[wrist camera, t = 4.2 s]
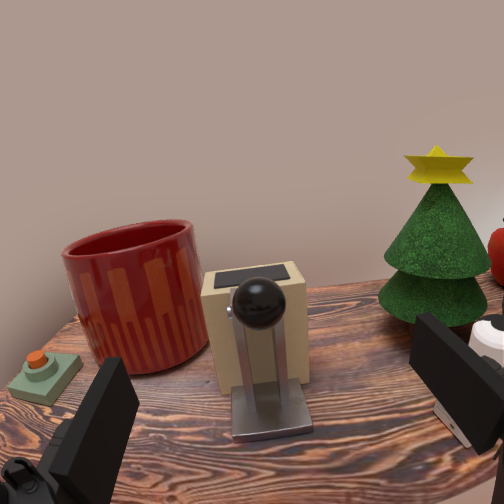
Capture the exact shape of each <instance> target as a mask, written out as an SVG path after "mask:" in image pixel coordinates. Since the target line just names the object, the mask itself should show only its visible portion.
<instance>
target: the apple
mask: <svg viewBox="0 0 504 504" xmlns="http://www.w3.org/2000/svg"><path fill="white" fill-rule="evenodd" d="M488 255H489V258H490V260H491V263H492V264H491V267H490V268H491V272H492V275H493V276H494V278H495V279H496V280H497V282H498V283H499V284H500V285H501V286H504V228H499V229H497V230H496V231H495V232H493V233H492V235H491V238H490V240H489V243H488Z"/></svg>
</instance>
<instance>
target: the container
mask: <svg viewBox="0 0 504 504" xmlns="http://www.w3.org/2000/svg"><path fill="white" fill-rule="evenodd" d="M468 346H469V347H470V348H472V349H473V350H474V351H475V352H476V353H477V354H478V355H479V356H480V357H481V356H484V355H486V356H488V357H490V358H492V359H494V360H496V361H497V362H498V363H499V364H500V365H501V366H502V368H504V315H500V314H491V315H486V316H483V317H481V318H479V319H478V320H477V321H476V322H475V323H474V325H473V328H472V332H471V337H470V341H469V345H468ZM433 412H434V413H435V414H436V415H437V416H438V417H439V418H440V419H441V421H442V422H443V423H444V424H445V425H446V426H447V427H448V428H449V429H450V431H451V432H452V433H453V434H454V435H455V436H456V437H457V438H458V439H459V440H460V442H461V443H462V444H463V445H464V446H465V447H466V448H469V447H470V446H472V445H471V444H470V442H469V441H468V440H467V438H466V437H465V436H464V434H463V433H462V432H461V430H460V429H459V427H458V426H457V425H456V423H455V422H454V421H453V419H452V418H451V417H450V415H449V414H448V413H447V411H446V410H445V409H444V408H443V406H442V405H441V404H440V402H439V401H438V400H436V403H435V406H434V409H433Z"/></svg>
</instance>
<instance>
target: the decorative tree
mask: <svg viewBox="0 0 504 504" xmlns="http://www.w3.org/2000/svg"><path fill="white" fill-rule="evenodd" d="M405 157H406V158H407V159H408V160H409V161H410V162H411V163H412V164H413V165H414V166H415V168H416V169H415V170H414V171H413V172H412V173H411V174H410V175H409V176H408V178H407V179H410V180H413V181H416V182H418V183H430V184H431V186H430V188H429V190H428V191H427V192H426V194H425V195H424V197H423V199H422V200H421V202H420V203H419V205H418V206H417V208H416V209H415V211H414V212H413V214H412V215H411V217H410V218H409V220H408V221H407V223H406V224H405V226H404V227H403V229H402V230H401V231H400V233H399V234H398V236H397V237H396V238H395V240H394V241H393V243H392V244H391V246H390V247H389V248H388V250H387V251H386V252H385V254H384V258H385V260H386V262H387V263H388V264H389V265H391V266H392V267H394V268H396V269H398V271H397V272H396V273H395V274H394V275H393V277H392V278H391V279H390V280H389V281H388V282H387V283H386V284H385V286H384V287H383V288H382V289H381V290H380V292H379V295H378V299H379V302H380V304H381V306H382V307H383V308H384V309H385V310H386V311H387V312H388V313H390V314H391V315H393V316H395V317H397V318H399V319H401V320H404V321H407V322H410V326H409V331H410V333H411V334H412V335H413V334H414V327H415V319H416V315H418V314H422V313H426V312H430V313H432V314H433V315H434V316H435V317H436V318H437V319H439V320H440V321H441V322H442V323H443V324H444V325H446V326H447V327H448V328H449V327H454V326H460V325H464V324H468V323H470V322H473V321H475V320H477V319H478V318H480V317H481V316H482V315H483V314H484V313H485V311H486V309H487V299H486V297H485V295H484V293H483V292H482V290H481V288H480V286H479V284H478V282H477V281H476V279H475V277H474V276H477V275H480V274H483V273H485V272H486V271H488V270H489V269H490V267H491V264H492V263H491V260H490V258H489V255H488V253H487V251H486V250H485V248H484V246H483V244H482V242H481V240H480V238H479V236H478V234H477V233H476V230H475V229H474V227H473V225H472V223H471V221H470V219H469V218H468V216H467V214H466V213H465V211H464V209H463V207H462V206H461V204H460V202H459V201H458V199H457V197H456V196H455V195H454V193H453V191H452V190H451V188H450V186H449V185H448V183H468V184H469V183H470V184H472V182H471V181H470V180H469V179H468V177H467V176H466V175H465V174H464V173H463V172H462V171H461V170H462V169H463V168H464V167H465V166H466V165H467V164H468V163H469V162H470V161H471V160H472V159H473V158H470V157H456V156H447V155H446V154H445V153H444V152H443V151H442V150H441V149H440V148H439V147H438V146H437V145H436V146H435V147H434V148H433V149H432V150H431V151H430V153H429V154H428V155H427V156H405Z"/></svg>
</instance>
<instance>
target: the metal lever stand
mask: <svg viewBox="0 0 504 504" xmlns="http://www.w3.org/2000/svg"><path fill="white" fill-rule="evenodd" d="M236 289H237V288H230V306H227V315H228V319H232V321H233V327H234V333H235V339H236V345H237V351H238V357H239V363H240V369H241V374H242V380H243V385H242V386H233V387H231V412H232V437H233V441H234V443H240V442H250V441H258V440H266V439H274V438H280V437H287V436H293V435H299V434H304V433H310V432H313V423H312V420H311V416H310V413H309V410H308V407H307V403H306V400H305V397H304V394H303V390H302V387H301V384H300V381H299V378H292V379H288V371H287V358H286V345H285V332H284V320H283V317H282V319H281V320H280V321H279V322H278V323H277V324H276V325H275V326H273V327H271V330H272V340H273V350H274V359H275V369H276V380H277V381H272V382H265V383H258V384H253V378H252V372H251V365H250V359H249V352H248V345H247V338H246V332H245V326H243V325H242V324H241V323H240V322H239V321H238V320H237V318H236V317H235V315H234V312H233V308H232V300H233V296H234V293H235V291H236ZM285 311H286V309H285Z"/></svg>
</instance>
